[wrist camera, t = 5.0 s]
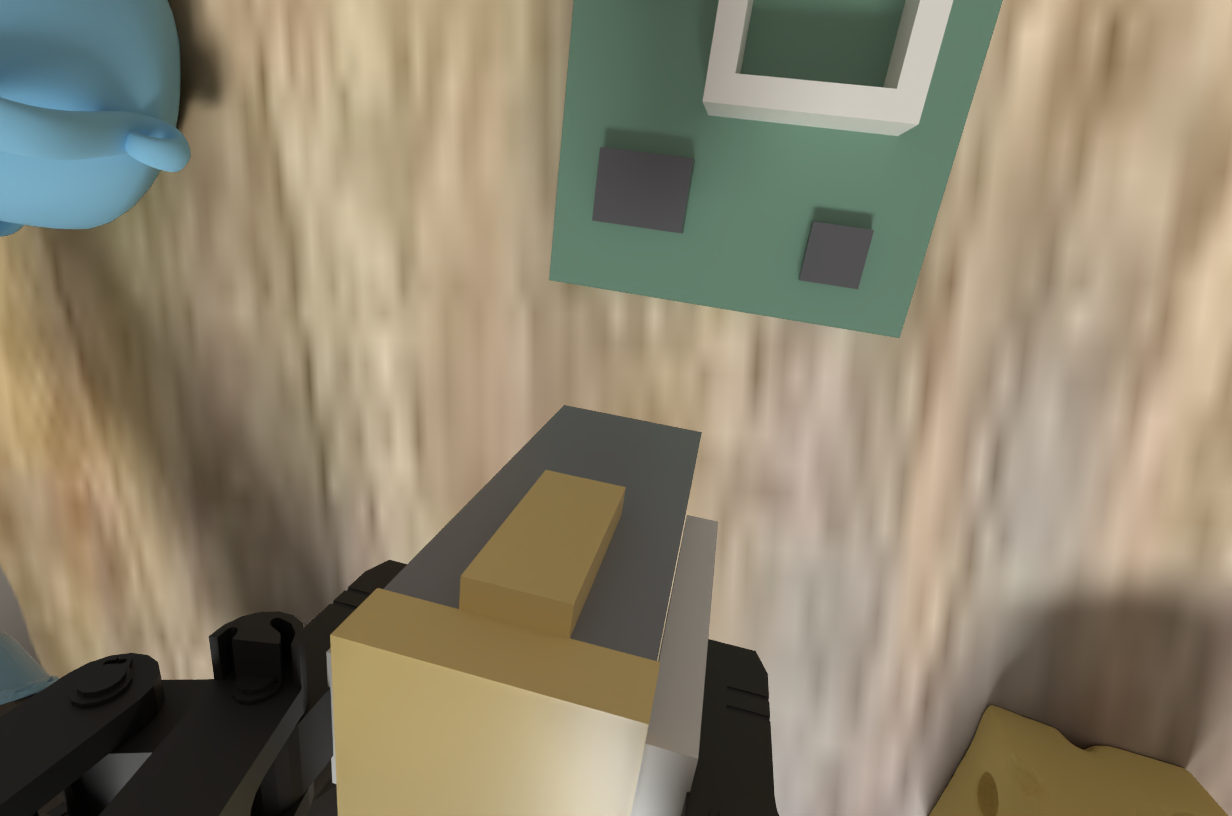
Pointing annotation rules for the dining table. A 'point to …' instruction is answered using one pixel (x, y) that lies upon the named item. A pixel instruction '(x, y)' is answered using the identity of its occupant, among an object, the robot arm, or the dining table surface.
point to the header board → (763, 150)
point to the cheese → (1063, 777)
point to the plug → (521, 635)
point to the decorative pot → (85, 109)
